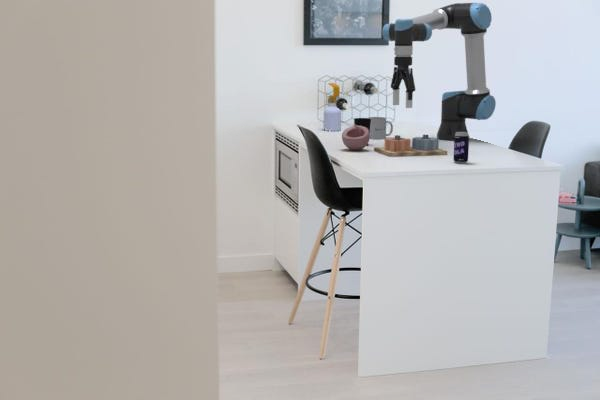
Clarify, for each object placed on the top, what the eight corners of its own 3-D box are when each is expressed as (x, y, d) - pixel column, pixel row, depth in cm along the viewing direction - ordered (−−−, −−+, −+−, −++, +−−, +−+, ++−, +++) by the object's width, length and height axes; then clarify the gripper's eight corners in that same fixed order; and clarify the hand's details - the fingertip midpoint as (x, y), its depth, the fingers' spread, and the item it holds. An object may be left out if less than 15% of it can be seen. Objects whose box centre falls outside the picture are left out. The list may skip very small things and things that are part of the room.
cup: (369, 146, 382) (369, 119, 380) (352, 145, 384) (352, 119, 382) (371, 144, 390) (371, 118, 388) (354, 143, 391) (355, 117, 389)
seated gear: (424, 146, 372) (424, 136, 371) (443, 149, 364) (444, 138, 363) (406, 148, 365) (407, 138, 364) (425, 151, 357) (426, 140, 356)
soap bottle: (332, 129, 451) (332, 82, 447) (344, 130, 445) (345, 83, 440) (319, 130, 445) (320, 83, 441) (332, 131, 439) (332, 83, 434)
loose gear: (404, 147, 368) (404, 137, 367) (414, 151, 357) (415, 140, 356) (380, 148, 364) (380, 138, 364) (390, 151, 354) (390, 141, 353)
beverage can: (451, 161, 338) (453, 131, 336) (465, 161, 339) (467, 131, 337) (455, 163, 333) (456, 133, 330) (469, 163, 333) (471, 133, 331)
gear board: (428, 149, 375) (429, 132, 373) (447, 154, 358) (447, 137, 356) (373, 150, 367) (374, 133, 366) (389, 156, 351) (390, 138, 349)
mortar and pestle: (337, 151, 366) (338, 124, 364) (346, 147, 377) (347, 122, 375) (364, 152, 362) (365, 125, 359) (372, 149, 373) (373, 123, 370)
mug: (369, 139, 408) (370, 118, 406) (366, 137, 416) (367, 117, 414) (394, 139, 409) (395, 118, 407) (391, 137, 417) (391, 117, 416)
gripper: (383, 55, 369) (382, 104, 374) (407, 57, 346) (406, 109, 350) (399, 54, 371) (398, 103, 376) (424, 57, 348) (422, 108, 352)
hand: (402, 106), depth 363 cm, fingers open, 13 cm apart
